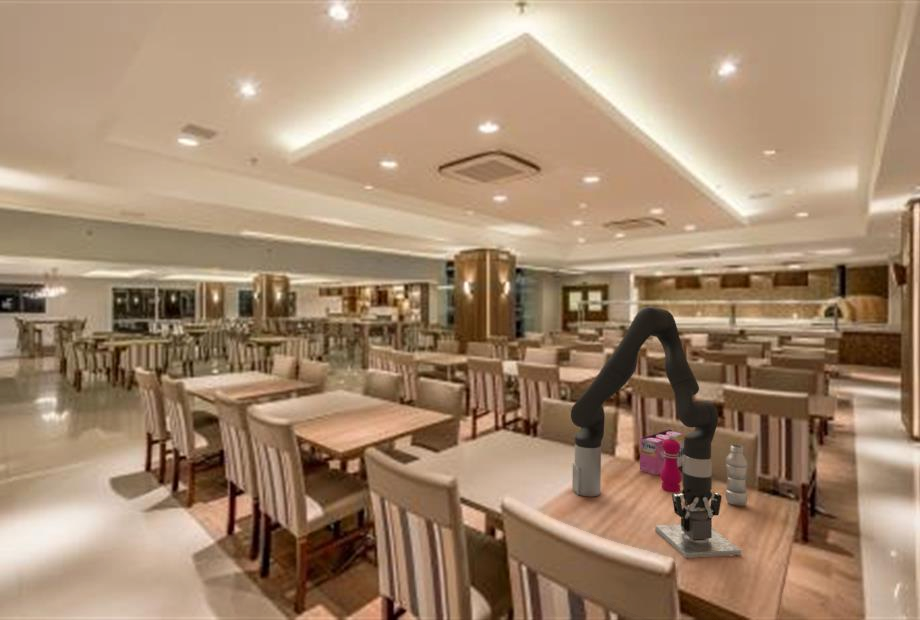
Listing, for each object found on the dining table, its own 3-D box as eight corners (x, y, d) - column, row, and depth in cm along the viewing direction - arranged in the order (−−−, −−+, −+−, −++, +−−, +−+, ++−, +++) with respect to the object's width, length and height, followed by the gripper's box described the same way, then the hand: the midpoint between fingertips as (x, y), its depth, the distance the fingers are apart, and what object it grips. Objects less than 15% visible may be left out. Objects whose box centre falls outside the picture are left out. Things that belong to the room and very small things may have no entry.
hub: (685, 558, 129) (686, 536, 129) (655, 530, 145) (655, 510, 145) (741, 555, 130) (741, 533, 130) (705, 528, 146) (705, 508, 146)
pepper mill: (683, 493, 173) (684, 438, 173) (662, 491, 175) (663, 437, 174) (678, 486, 180) (679, 433, 180) (658, 484, 182) (659, 432, 181)
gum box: (669, 459, 212) (670, 428, 211) (687, 464, 205) (687, 432, 205) (639, 470, 197) (639, 437, 197) (657, 476, 191) (657, 442, 191)
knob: (692, 539, 134) (692, 513, 134) (680, 529, 140) (680, 504, 140) (712, 538, 135) (712, 512, 135) (699, 528, 141) (699, 503, 141)
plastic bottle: (739, 509, 160) (740, 450, 159) (720, 502, 166) (721, 444, 165) (751, 506, 163) (752, 447, 162) (732, 499, 169) (733, 442, 168)
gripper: (680, 477, 133) (679, 537, 133) (729, 475, 134) (728, 535, 135) (666, 467, 140) (665, 525, 140) (712, 466, 142) (711, 522, 142)
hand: (696, 529), depth 138 cm, fingers closed on knob, 5 cm apart
